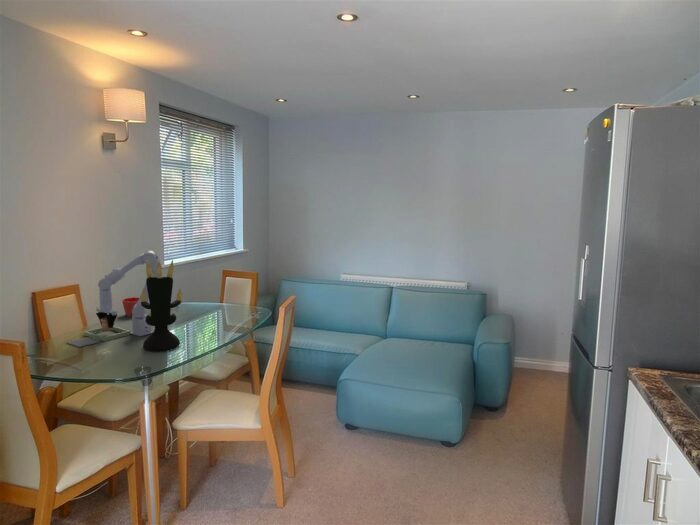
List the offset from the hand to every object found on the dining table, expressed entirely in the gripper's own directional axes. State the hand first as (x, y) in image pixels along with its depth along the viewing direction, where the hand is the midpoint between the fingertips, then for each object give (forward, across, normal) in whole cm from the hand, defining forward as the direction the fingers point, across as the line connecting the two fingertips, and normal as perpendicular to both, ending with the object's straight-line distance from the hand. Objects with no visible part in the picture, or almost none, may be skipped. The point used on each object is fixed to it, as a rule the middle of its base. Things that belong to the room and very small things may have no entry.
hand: (107, 326), depth 251 cm
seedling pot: (+2, 0, 0) cm, 2 cm away
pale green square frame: (+4, 0, 0) cm, 4 cm away
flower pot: (+5, -25, +32) cm, 41 cm away
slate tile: (+4, +3, -14) cm, 15 cm away
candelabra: (+5, +40, +3) cm, 40 cm away
